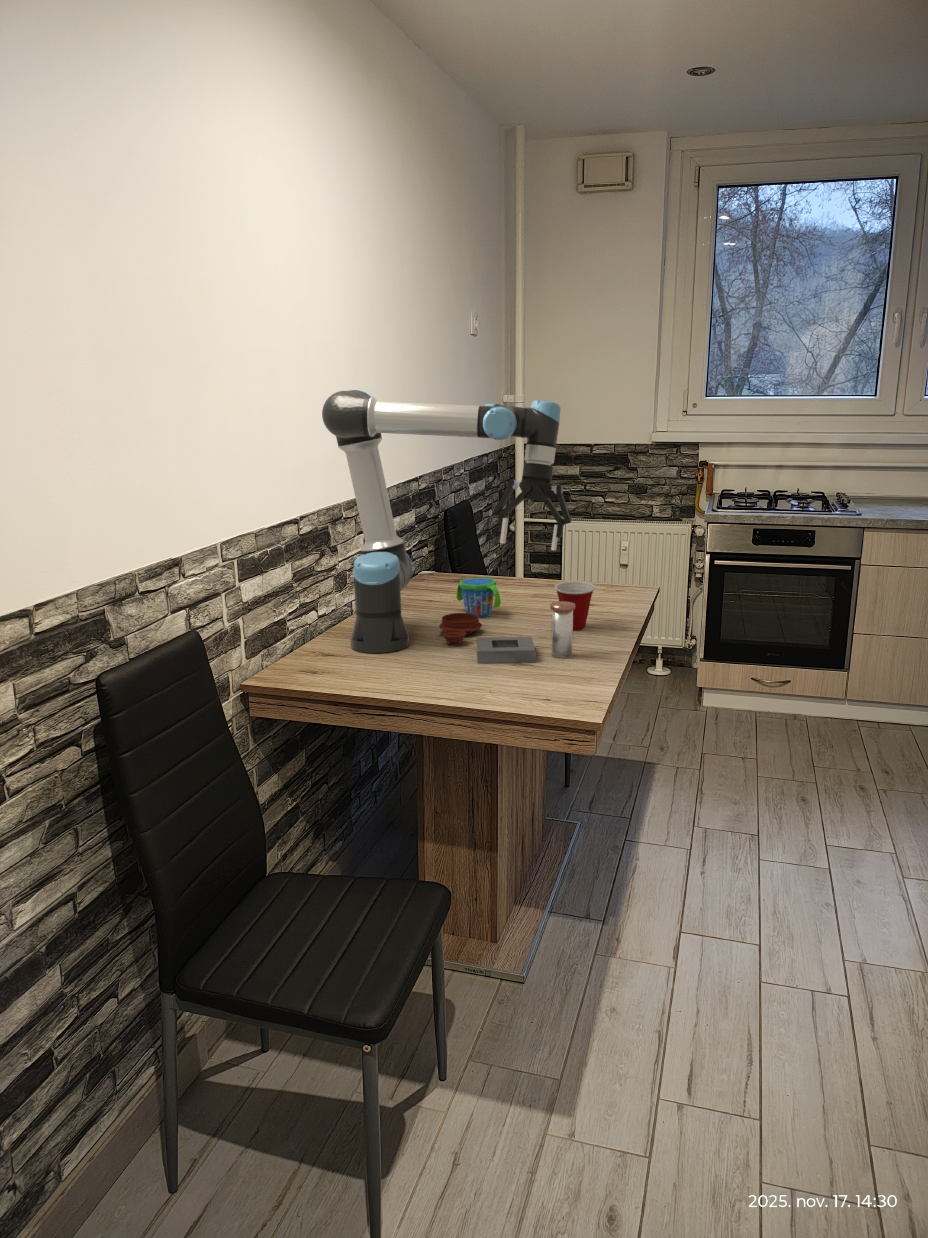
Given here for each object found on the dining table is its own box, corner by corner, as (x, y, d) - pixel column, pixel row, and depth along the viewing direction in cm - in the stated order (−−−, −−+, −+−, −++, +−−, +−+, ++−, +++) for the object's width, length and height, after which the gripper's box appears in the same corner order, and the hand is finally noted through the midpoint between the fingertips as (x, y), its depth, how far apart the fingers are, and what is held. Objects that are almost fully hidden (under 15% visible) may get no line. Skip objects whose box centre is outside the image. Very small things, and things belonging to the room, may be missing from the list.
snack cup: (447, 613, 262) (446, 579, 259) (474, 607, 268) (474, 574, 265) (481, 623, 250) (481, 588, 247) (509, 617, 256) (509, 582, 254)
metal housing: (477, 663, 214) (477, 651, 214) (476, 648, 226) (476, 637, 225) (535, 662, 214) (535, 650, 214) (531, 647, 226) (531, 636, 225)
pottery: (484, 627, 246) (484, 612, 245) (474, 648, 227) (474, 632, 226) (443, 626, 248) (442, 611, 247) (429, 647, 229) (429, 630, 228)
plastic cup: (553, 633, 239) (554, 589, 236) (554, 622, 249) (555, 580, 246) (594, 633, 237) (595, 589, 234) (594, 623, 248) (594, 581, 245)
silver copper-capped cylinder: (551, 659, 216) (551, 607, 213) (548, 652, 222) (549, 601, 219) (575, 658, 216) (576, 607, 213) (572, 651, 222) (573, 601, 219)
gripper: (589, 469, 226) (578, 552, 229) (496, 459, 233) (486, 540, 236) (584, 467, 219) (572, 553, 221) (487, 457, 226) (477, 540, 229)
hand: (527, 546), depth 229 cm, fingers open, 13 cm apart
